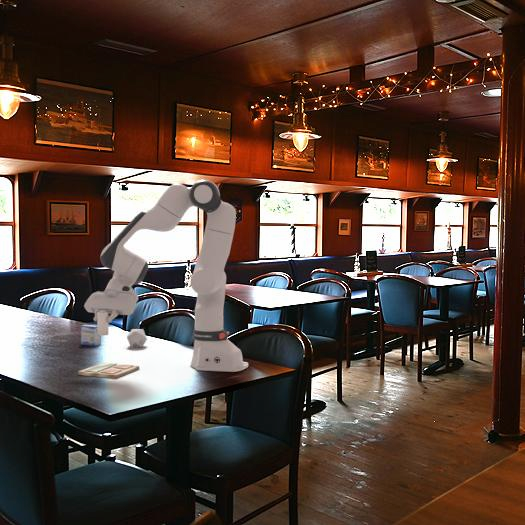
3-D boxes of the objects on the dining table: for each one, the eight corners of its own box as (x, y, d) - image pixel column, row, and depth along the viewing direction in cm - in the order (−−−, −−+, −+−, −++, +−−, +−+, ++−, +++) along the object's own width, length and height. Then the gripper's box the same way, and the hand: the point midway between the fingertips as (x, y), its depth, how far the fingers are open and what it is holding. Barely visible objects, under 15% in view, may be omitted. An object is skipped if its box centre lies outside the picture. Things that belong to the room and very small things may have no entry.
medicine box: (81, 344, 286) (80, 325, 286) (87, 342, 290) (87, 324, 290) (95, 345, 283) (95, 326, 283) (101, 344, 287) (101, 325, 287)
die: (137, 350, 276) (149, 332, 279) (121, 340, 277) (133, 322, 280) (140, 353, 284) (152, 335, 287) (124, 343, 285) (136, 326, 288)
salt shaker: (110, 334, 236) (110, 309, 236) (104, 335, 233) (104, 311, 232) (101, 333, 238) (101, 309, 237) (95, 335, 234) (95, 310, 234)
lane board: (139, 369, 238) (139, 365, 237) (116, 378, 222) (116, 374, 222) (103, 365, 243) (103, 361, 243) (77, 374, 228) (77, 370, 228)
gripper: (90, 286, 244) (74, 314, 236) (136, 288, 237) (121, 317, 229) (97, 296, 249) (82, 324, 240) (142, 299, 242) (128, 327, 233)
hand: (101, 321), depth 234 cm, fingers closed on salt shaker, 4 cm apart
